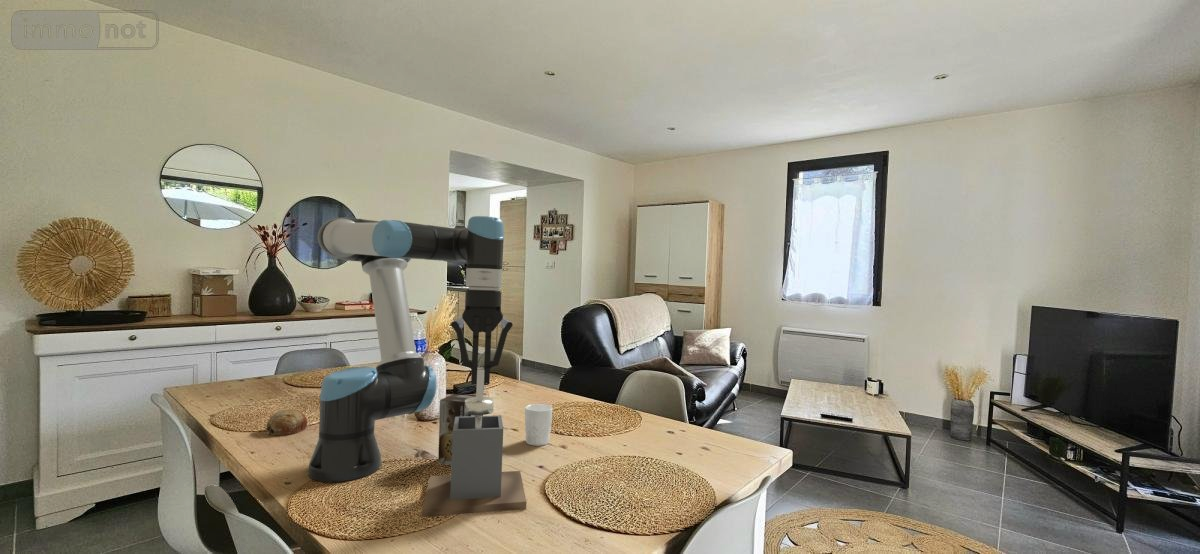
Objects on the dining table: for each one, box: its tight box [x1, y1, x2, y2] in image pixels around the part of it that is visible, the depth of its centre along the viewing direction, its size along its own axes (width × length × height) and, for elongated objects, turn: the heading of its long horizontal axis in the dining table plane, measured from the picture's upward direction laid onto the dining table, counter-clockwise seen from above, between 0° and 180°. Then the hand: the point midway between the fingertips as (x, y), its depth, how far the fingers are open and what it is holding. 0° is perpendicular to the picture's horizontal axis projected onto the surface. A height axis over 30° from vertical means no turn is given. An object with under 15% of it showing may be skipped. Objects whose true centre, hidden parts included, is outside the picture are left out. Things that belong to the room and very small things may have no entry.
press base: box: [421, 470, 527, 518], centre depth 102 cm, size 20×16×2 cm
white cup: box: [524, 403, 553, 447], centre depth 137 cm, size 8×8×10 cm
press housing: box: [450, 414, 504, 501], centre depth 102 cm, size 10×10×14 cm
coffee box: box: [437, 393, 484, 466], centre depth 120 cm, size 9×6×16 cm
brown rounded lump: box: [266, 408, 308, 437], centre depth 139 cm, size 10×10×8 cm
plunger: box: [464, 396, 495, 429], centre depth 102 cm, size 8×8×15 cm
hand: (479, 399), depth 102 cm, fingers closed
